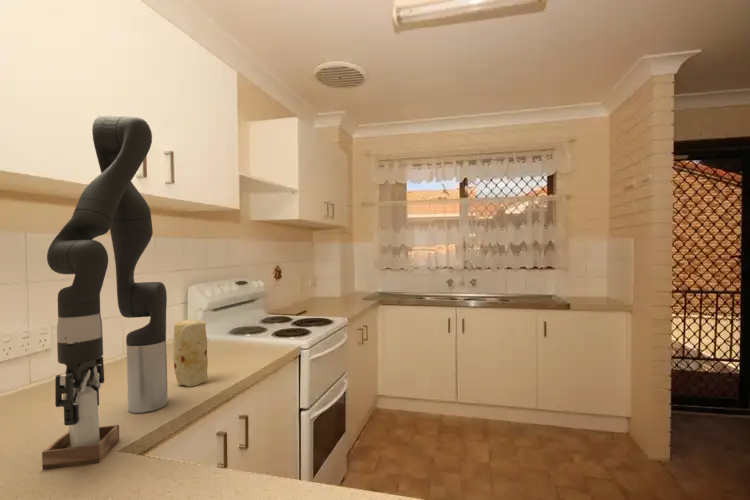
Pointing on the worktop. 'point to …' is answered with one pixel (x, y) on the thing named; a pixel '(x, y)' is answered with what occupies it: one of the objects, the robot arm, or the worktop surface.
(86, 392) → the skincare box
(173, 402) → the worktop surface
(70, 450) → the brown square tray
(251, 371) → the worktop surface
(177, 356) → the food model
